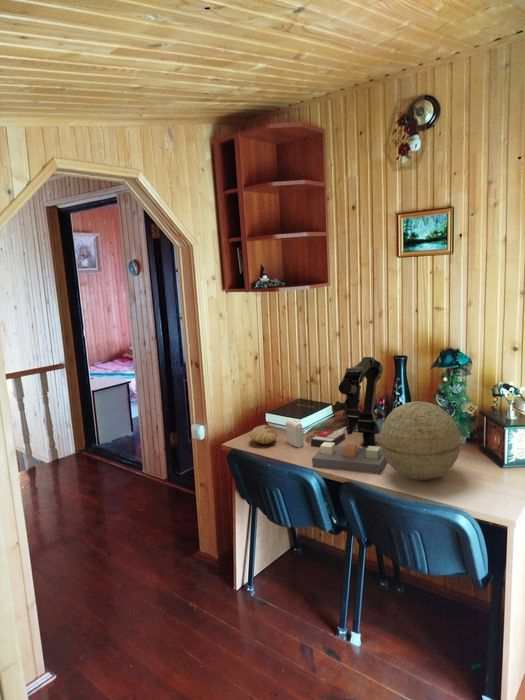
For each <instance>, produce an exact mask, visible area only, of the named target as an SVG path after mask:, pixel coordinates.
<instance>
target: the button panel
mask: <svg viewBox="0 0 525 700" xmlns="http://www.w3.org/2000/svg"><path fill="white" fill-rule="evenodd" d="M344 446H345V445H342V446H341V445H336V446H335V453H334V454H333V455H325V454H321V449H319V450H318V451H317V452H316V453H315V454H314V455H313V456H312V457H311V461H312V463H311V464H312V468H320V469H321V468H322V469H327V470H329V469H330V470H339V471H340V470H341V471H348V472H356V473H367V474H373V475H374V474H375V475H380V474H381V473H382V472H383V470H384V468H385V467H386V465H387V464H388V462H387V460H386V459H385V457H384V455H383V452H382V450H381V457H380V459H379V460H376V459H366V449H367V448H368V447H366V448H365V447H357V449H358V454H357V456H356V457H345V456H343V447H344Z"/></svg>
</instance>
